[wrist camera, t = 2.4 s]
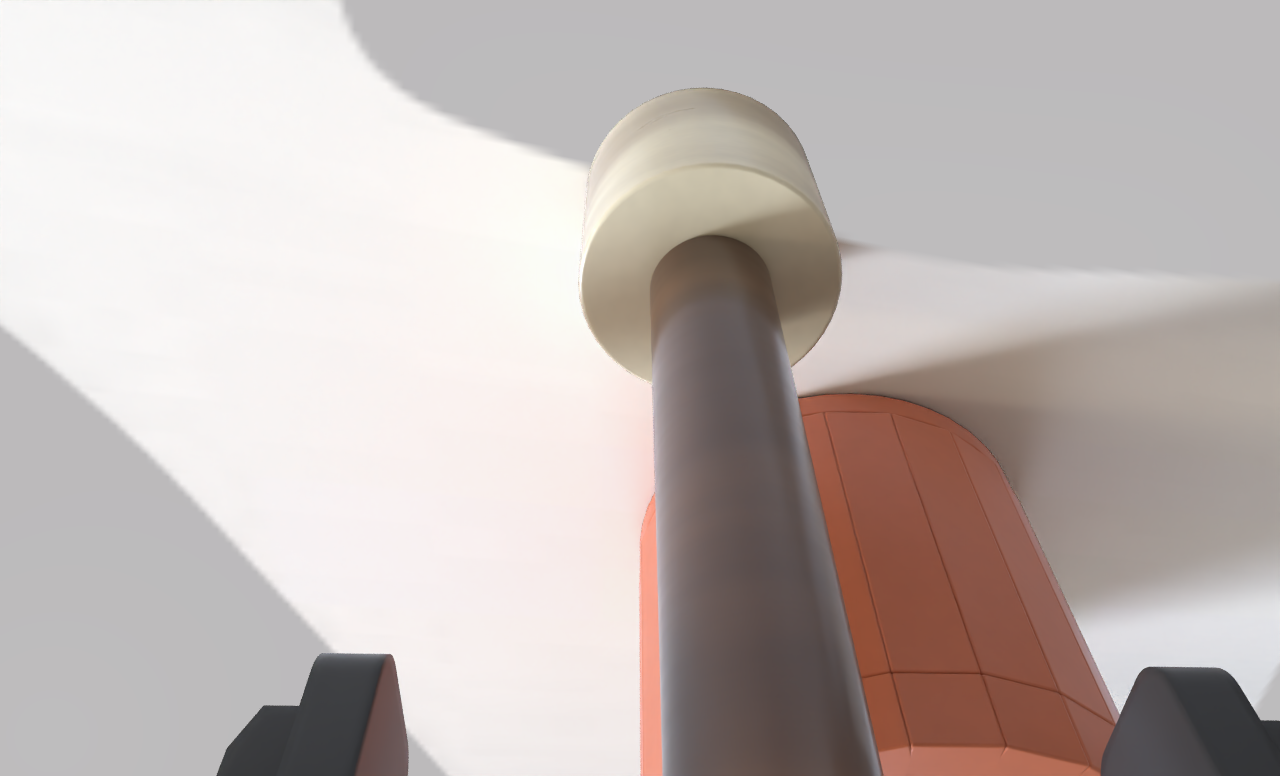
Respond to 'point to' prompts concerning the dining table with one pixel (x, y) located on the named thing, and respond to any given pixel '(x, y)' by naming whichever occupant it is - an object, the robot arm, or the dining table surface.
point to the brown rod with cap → (729, 429)
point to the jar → (933, 603)
